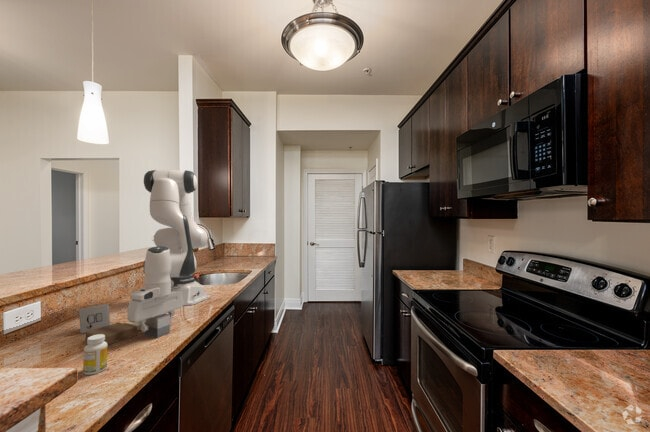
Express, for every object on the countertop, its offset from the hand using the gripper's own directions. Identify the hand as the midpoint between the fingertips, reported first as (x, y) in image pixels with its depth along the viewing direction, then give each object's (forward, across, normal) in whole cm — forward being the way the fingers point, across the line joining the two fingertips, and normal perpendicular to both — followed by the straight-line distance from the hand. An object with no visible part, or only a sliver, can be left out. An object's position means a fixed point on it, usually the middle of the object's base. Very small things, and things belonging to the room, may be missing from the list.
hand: (157, 326), depth 108 cm
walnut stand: (+3, +9, -12) cm, 15 cm away
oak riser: (+3, -3, -14) cm, 15 cm away
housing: (+3, 0, 0) cm, 3 cm away
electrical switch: (+3, +7, -27) cm, 28 cm away
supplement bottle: (+3, +25, +8) cm, 26 cm away
